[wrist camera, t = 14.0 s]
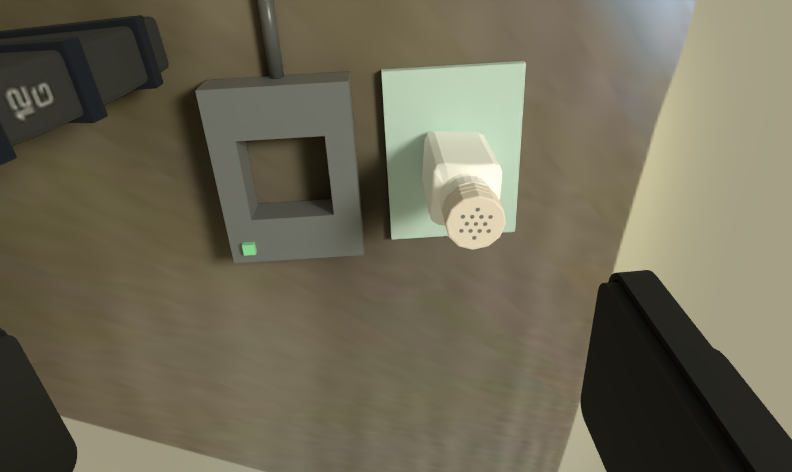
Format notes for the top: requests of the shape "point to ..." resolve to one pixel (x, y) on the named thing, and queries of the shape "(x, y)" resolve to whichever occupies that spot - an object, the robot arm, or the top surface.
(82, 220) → the top surface
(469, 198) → the salt shaker
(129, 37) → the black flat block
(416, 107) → the mat
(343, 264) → the top surface
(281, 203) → the frame
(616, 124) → the top surface
